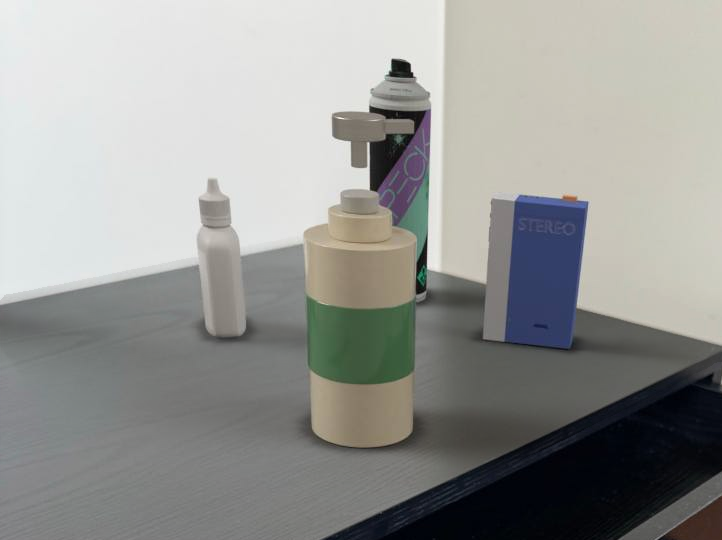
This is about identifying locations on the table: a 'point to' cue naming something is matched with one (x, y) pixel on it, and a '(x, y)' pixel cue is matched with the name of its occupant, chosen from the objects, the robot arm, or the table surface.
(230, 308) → the eye dropper bottle
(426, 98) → the spray can
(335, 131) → the pump
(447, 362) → the table surface
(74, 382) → the table surface
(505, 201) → the walkman
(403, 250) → the soap bottle
